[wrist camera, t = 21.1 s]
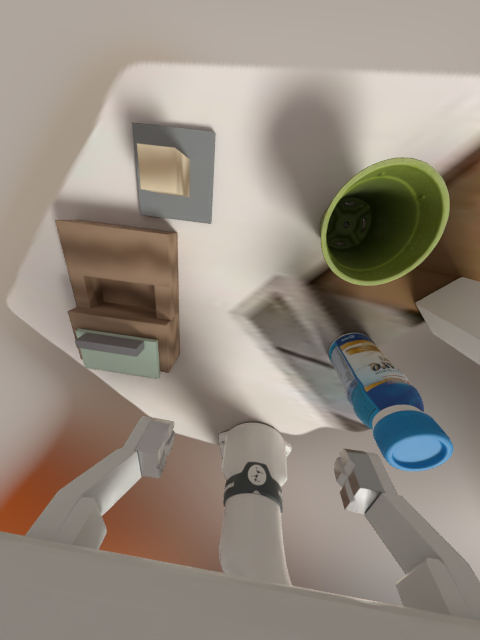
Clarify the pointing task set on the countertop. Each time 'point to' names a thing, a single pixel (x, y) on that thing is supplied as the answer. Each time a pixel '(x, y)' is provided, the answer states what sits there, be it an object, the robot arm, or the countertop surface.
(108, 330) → the puzzle board
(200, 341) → the countertop surface
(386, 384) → the beverage bottle
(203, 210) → the rubber pad
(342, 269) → the plant pot
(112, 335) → the sliding lid
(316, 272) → the countertop surface
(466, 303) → the milk carton
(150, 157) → the maple block
